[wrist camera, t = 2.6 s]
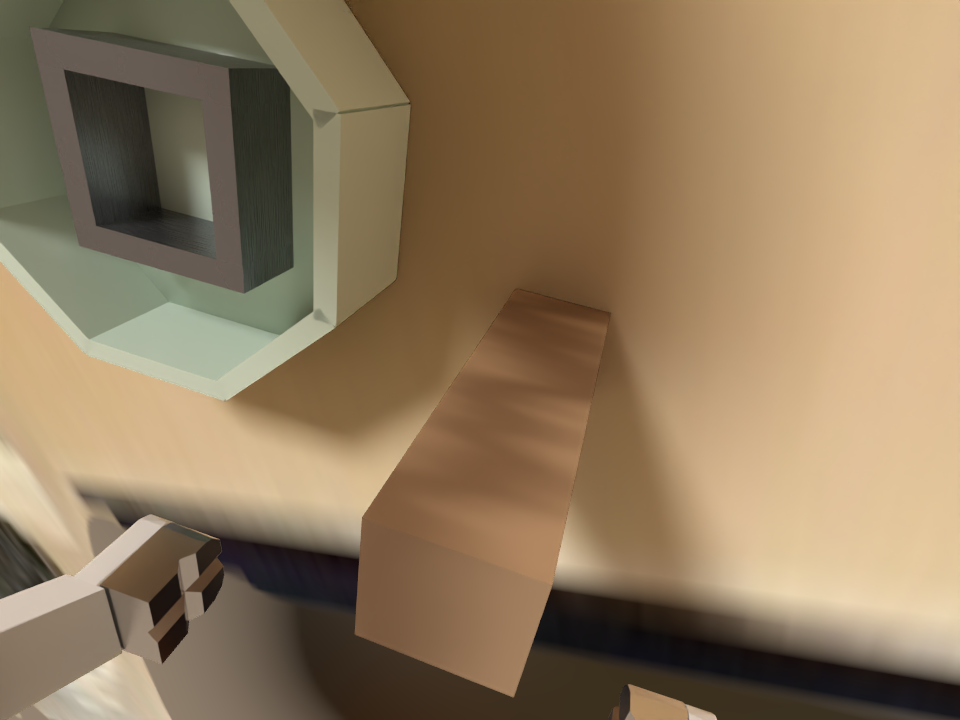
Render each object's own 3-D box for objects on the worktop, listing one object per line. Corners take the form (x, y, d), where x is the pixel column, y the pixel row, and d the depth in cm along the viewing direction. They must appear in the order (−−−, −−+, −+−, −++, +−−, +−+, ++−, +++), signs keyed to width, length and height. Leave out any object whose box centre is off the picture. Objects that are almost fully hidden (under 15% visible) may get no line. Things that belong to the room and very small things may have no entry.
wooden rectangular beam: (610, 313, 19) (552, 585, 9) (585, 394, 21) (513, 697, 11) (515, 288, 20) (362, 517, 10) (499, 369, 22) (354, 634, 11)
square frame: (289, 68, 18) (228, 68, 15) (293, 267, 21) (244, 293, 19) (113, 32, 19) (29, 26, 17) (144, 226, 23) (79, 246, 20)
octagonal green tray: (424, -65, 16) (346, -110, 12) (388, 375, 23) (333, 436, 19) (4, -129, 18) (-174, -182, 14) (96, 286, 26) (-5, 325, 22)
